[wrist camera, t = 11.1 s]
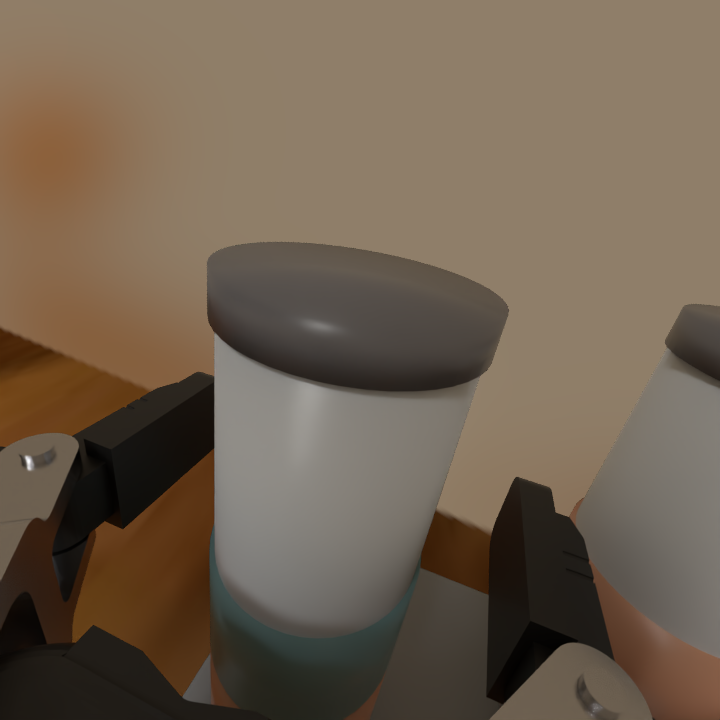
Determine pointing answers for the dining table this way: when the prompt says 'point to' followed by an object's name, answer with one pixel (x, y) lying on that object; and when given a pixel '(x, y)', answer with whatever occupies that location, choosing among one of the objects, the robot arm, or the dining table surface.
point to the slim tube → (329, 461)
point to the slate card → (426, 658)
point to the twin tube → (665, 528)
